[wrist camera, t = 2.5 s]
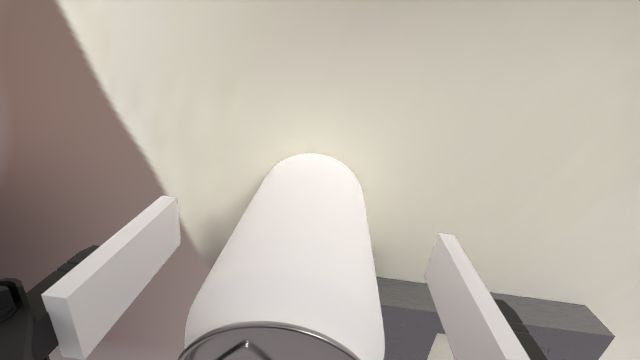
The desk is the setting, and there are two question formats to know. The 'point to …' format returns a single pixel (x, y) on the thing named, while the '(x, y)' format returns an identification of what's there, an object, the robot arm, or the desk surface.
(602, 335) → the holder
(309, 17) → the desk surface
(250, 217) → the can
